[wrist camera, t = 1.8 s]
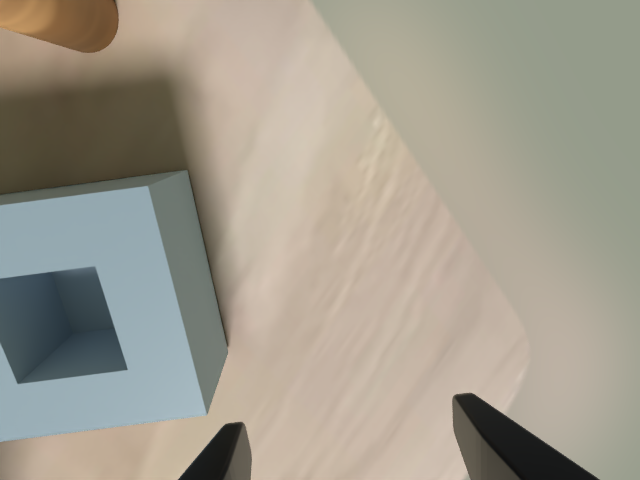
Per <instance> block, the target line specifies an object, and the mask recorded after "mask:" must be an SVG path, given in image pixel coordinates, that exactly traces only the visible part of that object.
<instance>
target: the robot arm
mask: <svg viewBox="0 0 640 480" xmlns="http://www.w3.org/2000/svg"><path fill="white" fill-rule="evenodd" d="M452 406H453V428H454V433H455V436H456V439H457V442H458V445H459V448H460V451H461V454H462V456H463V459H464V462H465V465H466V468H467V471H468V474H469V476H470V479H471V480H599V479H598V478H597V477H595V476H594V475H592V474H591V473H589V472H588V471H586V470H585V469H583V468H582V467H580V466H579V465H577V464H576V463H575V462H573V461H572V460H570V459H569V458H567V457H566V456H564V455H563V454H561V453H560V452H558V451H557V450H555V449H554V448H552V447H551V446H550V445H548V444H547V443H545V442H544V441H542V440H541V439H539V438H538V437H536V436H535V435H533V434H532V433H530V432H529V431H528V430H526V429H525V428H523V427H522V426H520V425H519V424H517V423H516V422H514V421H513V420H511V419H510V418H508V417H507V416H505V415H504V414H503V413H501V412H500V411H498V410H497V409H495V408H494V407H492V406H491V405H489V404H488V403H486V402H485V401H483V400H482V399H480V398H479V397H478V396H476V395H475V394H473V393H463V394H456V395H454V396H453V399H452ZM251 464H252V457H251V449H250V444H249V440H248V435H247V431H246V427H245V424H244V423H243V422H235V423H228V424H225V425H224V426H223V427H222V428H221V429H220V430H219V432H218V433H217V434H216V435H215V436H214V438H213V439H212V440H211V441H210V442H209V444H208V445H207V446H206V447H205V448H204V449H203V451H202V452H201V453H200V454H199V455H198V457H197V458H196V459H195V460H194V461H193V462H192V464H191V465H190V466H189V467H188V468H187V470H186V471H185V472H184V473H183V474H182V476H181V477H180V478H179V479H178V480H250V479H251Z"/></svg>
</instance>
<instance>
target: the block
mask: <svg viewBox="0 0 640 480" xmlns="http://www.w3.org/2000/svg"><path fill="white" fill-rule="evenodd" d="M227 355H228V349H227V344H226V340H225V335H224V331H223V327H222V322H221V318H220V313H219V309H218V304H217V300H216V295H215V291H214V287H213V282H212V278H211V273H210V269H209V264H208V260H207V255H206V251H205V246H204V242H203V238H202V233H201V229H200V224H199V220H198V215H197V211H196V206H195V202H194V198H193V193H192V189H191V184H190V180H189V175H188V171H187V170H182V171H174V172H167V173H159V174H152V175H144V176H136V177H129V178H121V179H114V180H106V181H98V182H91V183H83V184H76V185H68V186H61V187H53V188H45V189H38V190H30V191H23V192H15V193H7V194H0V442H2V441H10V440H18V439H26V438H33V437H41V436H49V435H57V434H65V433H72V432H80V431H88V430H96V429H104V428H111V427H119V426H127V425H135V424H143V423H151V422H158V421H166V420H174V419H182V418H190V417H197V416H205V415H207V413H208V411H209V408H210V405H211V402H212V399H213V396H214V393H215V390H216V387H217V384H218V381H219V378H220V375H221V372H222V369H223V366H224V363H225V360H226V357H227Z"/></svg>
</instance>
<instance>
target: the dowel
mask: <svg viewBox="0 0 640 480" xmlns="http://www.w3.org/2000/svg"><path fill="white" fill-rule="evenodd" d="M0 28H4V29H7V30H10V31H14V32H17V33H20V34H23V35H27V36H30V37H33V38H37V39H40V40H43V41H46V42H50V43H53V44H56V45H60V46H63V47H66V48H69V49H73V50H76V51H80V52H85V53H93V52H97V51H100V50H102V49H104V48H105V47H107V46H108V45H109V44H110V43H111V42H112V40H113V39H114V37H115V35H116V32H117V28H118V12H117V8H116V5H115V2H114V0H0Z"/></svg>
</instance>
